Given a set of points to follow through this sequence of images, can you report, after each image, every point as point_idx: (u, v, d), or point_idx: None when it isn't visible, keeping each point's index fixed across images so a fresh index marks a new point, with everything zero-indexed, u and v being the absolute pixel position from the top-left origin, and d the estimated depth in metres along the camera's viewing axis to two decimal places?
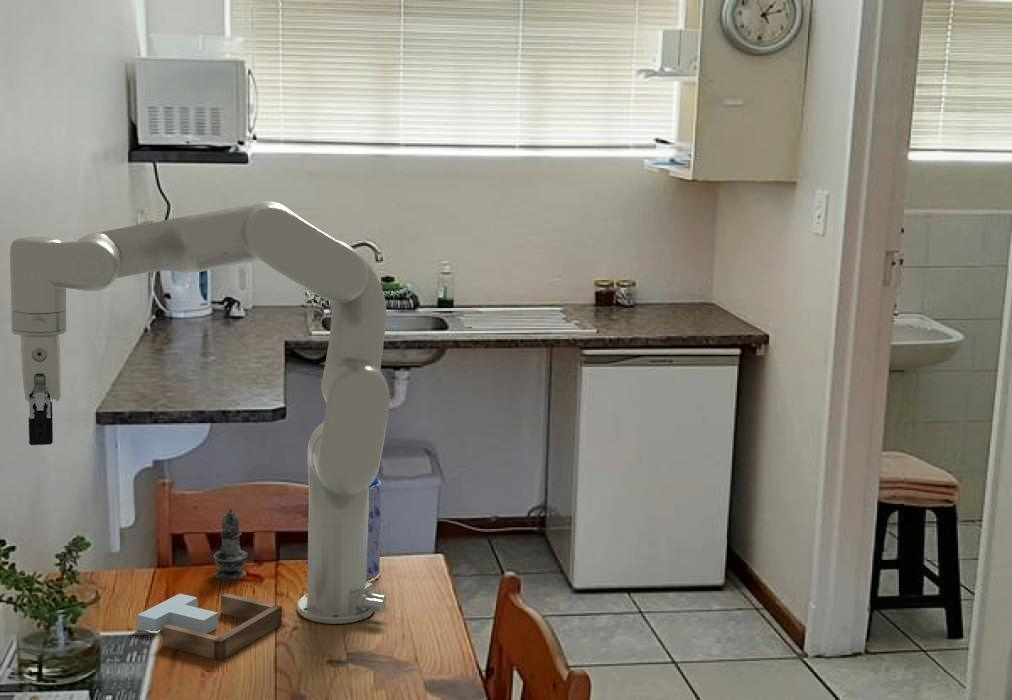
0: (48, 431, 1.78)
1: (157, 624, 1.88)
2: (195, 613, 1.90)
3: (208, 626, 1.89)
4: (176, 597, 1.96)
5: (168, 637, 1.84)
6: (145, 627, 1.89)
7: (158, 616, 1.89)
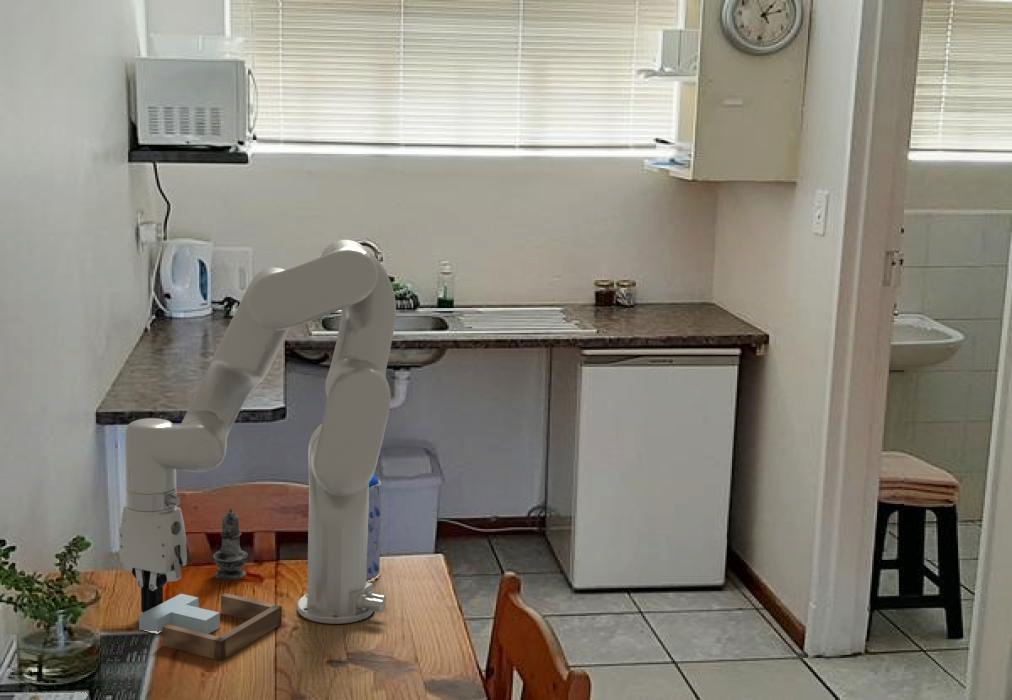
0: None
1: (159, 624, 1.88)
2: (197, 613, 1.90)
3: (210, 626, 1.89)
4: (177, 597, 1.96)
5: (168, 637, 1.84)
6: (147, 627, 1.89)
7: (160, 616, 1.89)
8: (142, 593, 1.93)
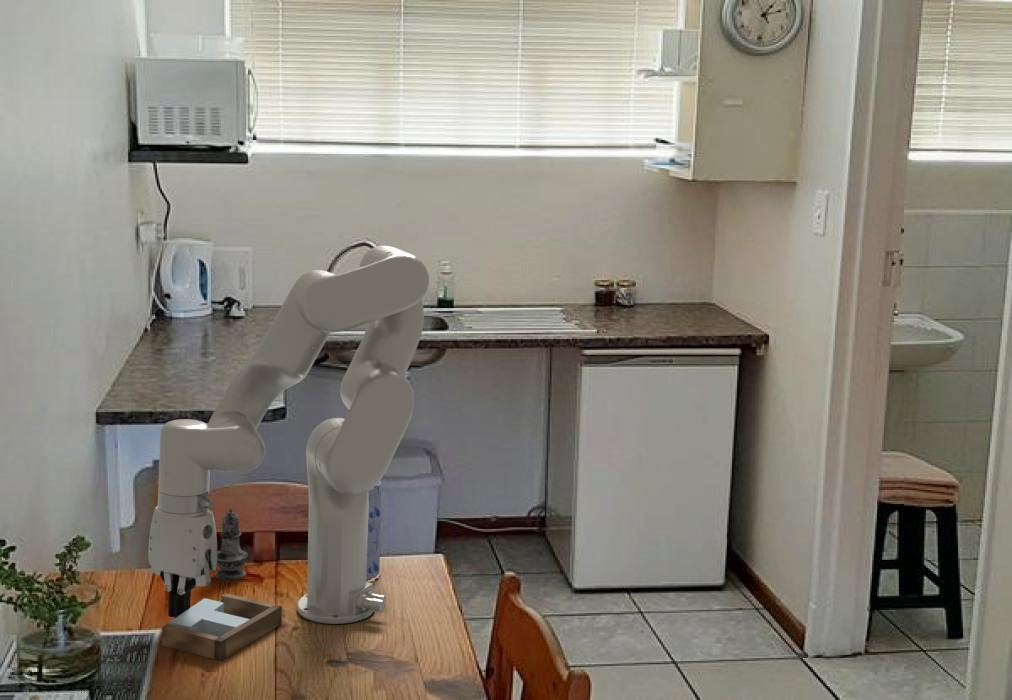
0: None
1: None
2: (228, 620, 1.88)
3: None
4: (202, 602, 1.93)
5: (168, 637, 1.84)
6: None
7: (192, 623, 1.85)
8: (170, 597, 1.89)
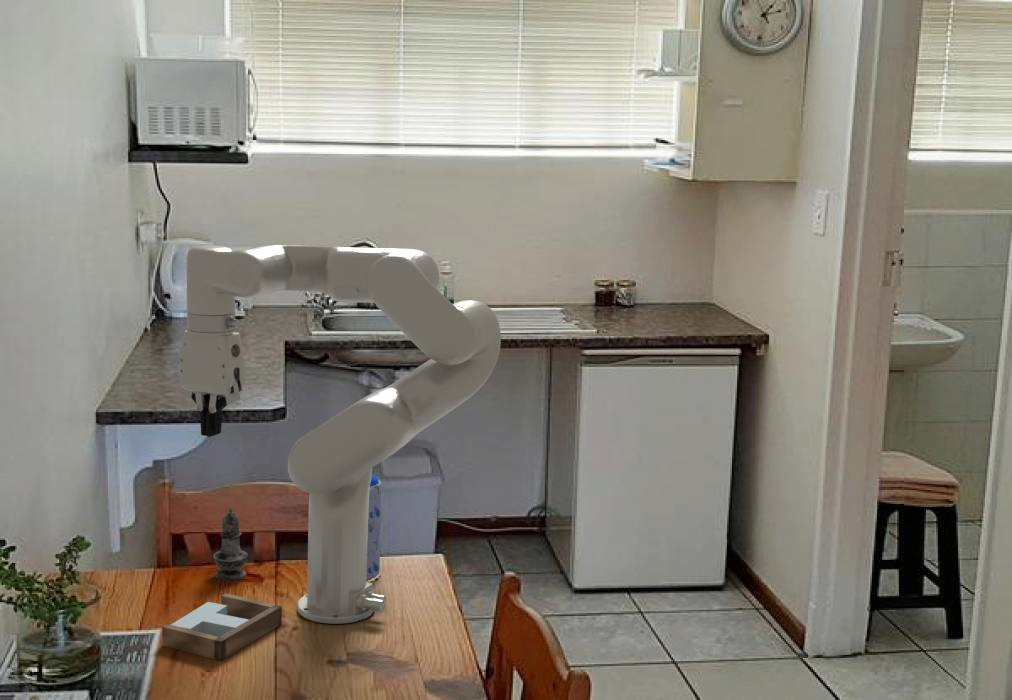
0: None
1: None
2: (229, 621, 1.88)
3: None
4: (205, 605, 1.94)
5: (168, 637, 1.84)
6: None
7: (192, 625, 1.86)
8: (202, 416, 1.99)
